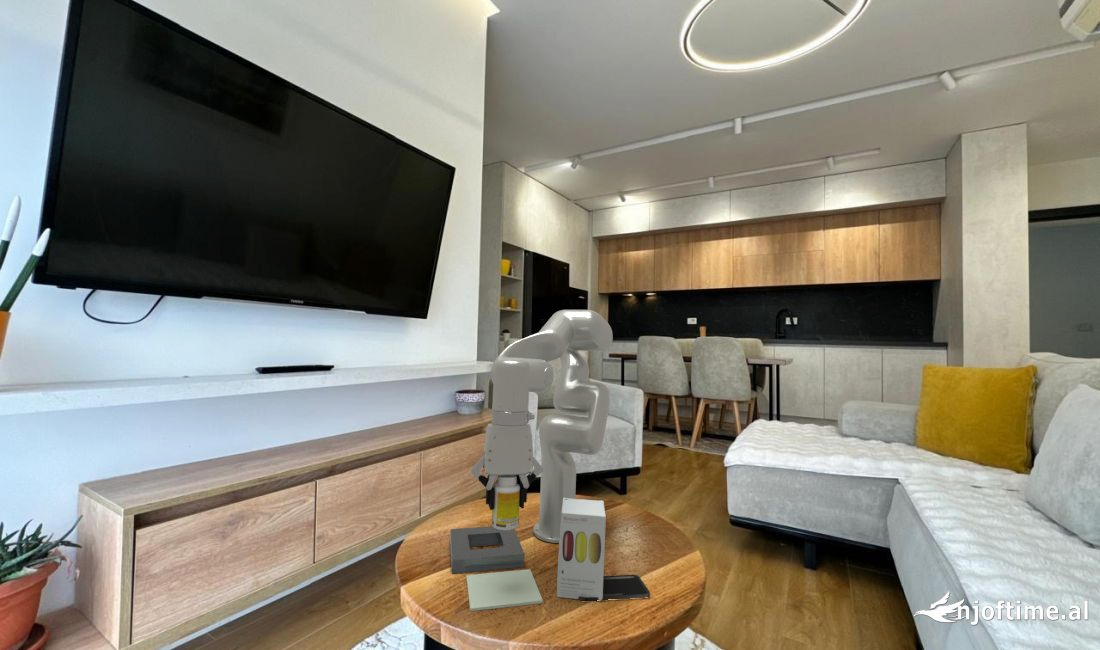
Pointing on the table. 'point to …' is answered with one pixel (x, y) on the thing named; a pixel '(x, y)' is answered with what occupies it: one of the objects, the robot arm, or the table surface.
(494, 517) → the supplement bottle
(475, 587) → the sage mat
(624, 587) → the phone
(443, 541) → the table surface
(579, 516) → the supplement box
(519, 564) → the socket block
